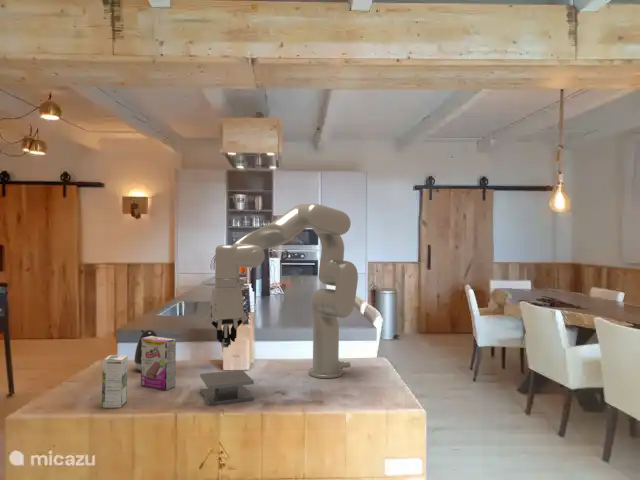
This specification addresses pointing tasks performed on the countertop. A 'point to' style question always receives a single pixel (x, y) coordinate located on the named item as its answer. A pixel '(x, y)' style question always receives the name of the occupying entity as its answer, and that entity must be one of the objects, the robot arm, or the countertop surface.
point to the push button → (226, 332)
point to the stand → (226, 387)
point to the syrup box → (114, 381)
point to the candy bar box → (158, 362)
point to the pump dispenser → (138, 348)
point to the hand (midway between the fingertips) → (226, 340)
